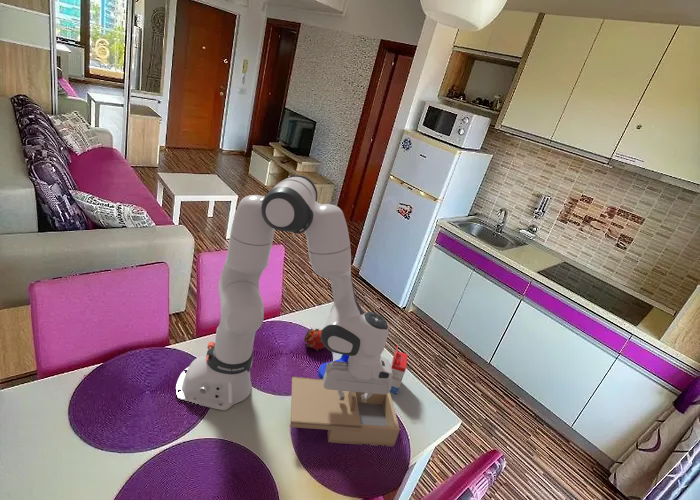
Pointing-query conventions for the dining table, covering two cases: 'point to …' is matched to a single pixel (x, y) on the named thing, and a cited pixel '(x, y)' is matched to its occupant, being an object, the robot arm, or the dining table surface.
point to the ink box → (398, 369)
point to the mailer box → (371, 423)
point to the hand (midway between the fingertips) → (351, 399)
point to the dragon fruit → (314, 339)
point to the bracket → (322, 368)
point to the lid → (322, 407)
